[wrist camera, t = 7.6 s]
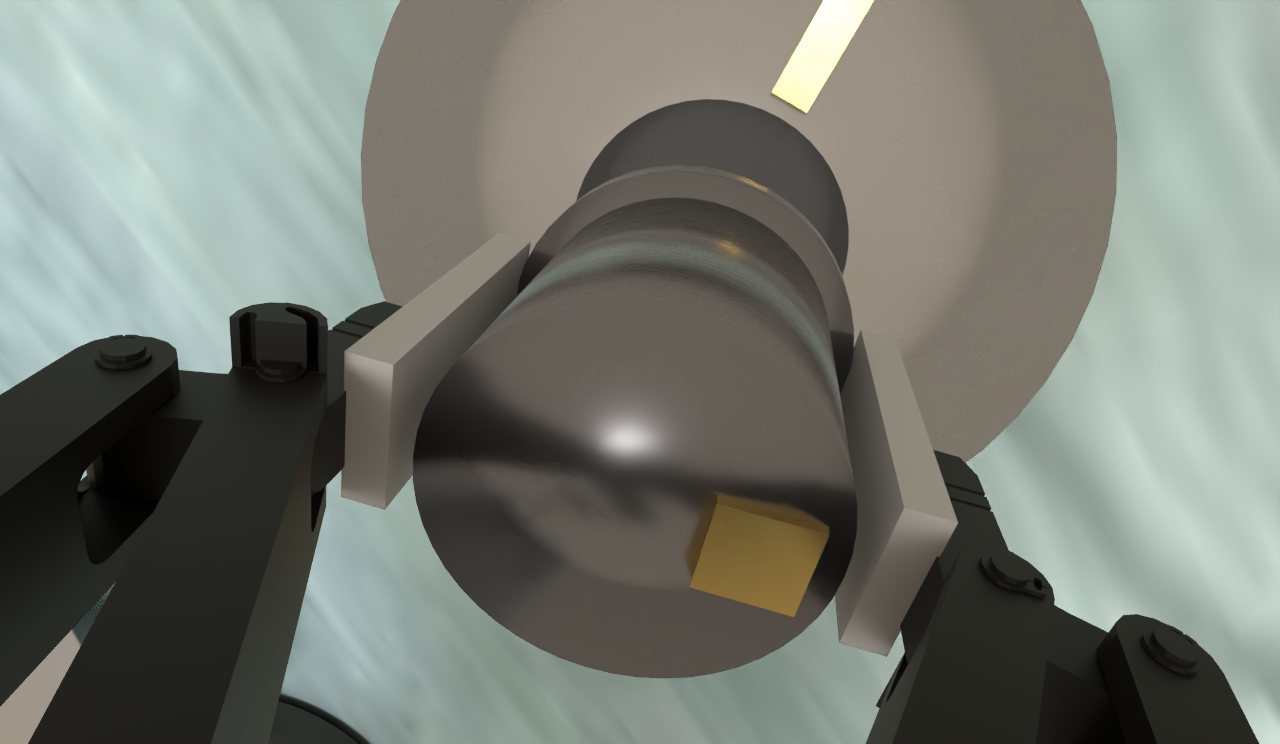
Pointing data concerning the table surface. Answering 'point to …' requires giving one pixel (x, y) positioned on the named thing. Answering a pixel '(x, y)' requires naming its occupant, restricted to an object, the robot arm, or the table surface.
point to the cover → (653, 432)
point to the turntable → (779, 155)
